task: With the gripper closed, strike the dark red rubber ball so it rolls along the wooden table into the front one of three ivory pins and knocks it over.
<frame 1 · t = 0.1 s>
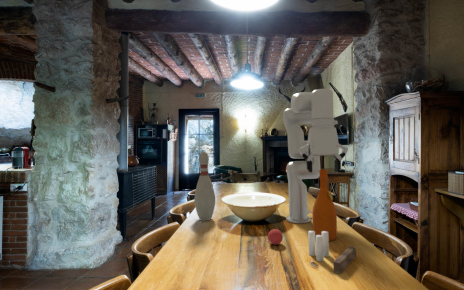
hand: (323, 171, 93), 31 cm above the table, tool pointing down, fingers open, 9 cm apart
ball: (275, 236, 107), on the table
brown wooden block: (345, 264, 88), on the table
bowling pin: (205, 219, 144), on the table
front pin: (312, 254, 96), on the table
pin 2: (325, 255, 95), on the table
pin 1: (319, 259, 91), on the table
wine bottle: (324, 238, 112), on the table
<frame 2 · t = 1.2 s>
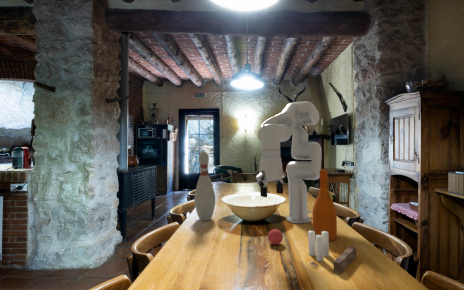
hand: (272, 195, 107), 20 cm above the table, tool pointing down, fingers open, 9 cm apart
nothing on the table moved.
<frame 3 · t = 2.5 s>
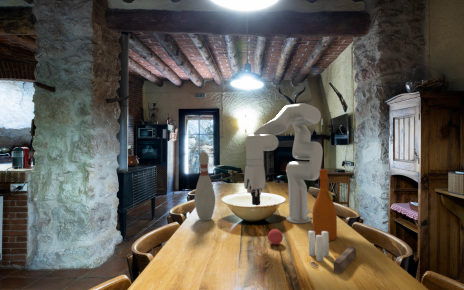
hand: (256, 204, 113), 15 cm above the table, tool pointing down, fingers closed
nothing on the table moved.
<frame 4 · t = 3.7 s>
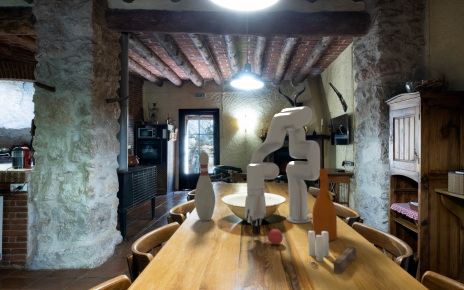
hand: (256, 233, 113), 2 cm above the table, tool pointing down, fingers closed
nothing on the table moved.
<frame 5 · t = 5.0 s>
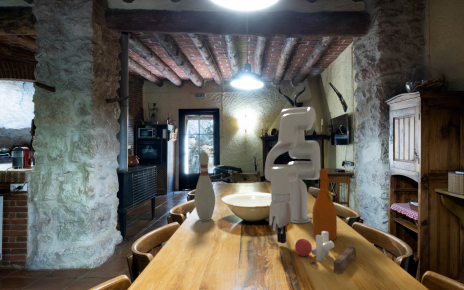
hand: (281, 242, 105), 2 cm above the table, tool pointing down, fingers closed
ball: (303, 247, 95), on the table
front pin: (313, 252, 95), point 1 cm above the table, tilted 55°
everything else where it was.
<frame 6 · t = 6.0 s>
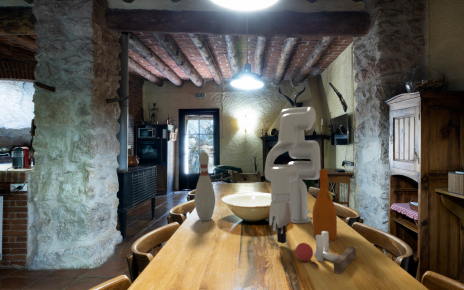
hand: (281, 242, 105), 2 cm above the table, tool pointing down, fingers closed
ball: (304, 251, 91), on the table
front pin: (315, 252, 95), point 1 cm above the table, tilted 90°
everything else where it was.
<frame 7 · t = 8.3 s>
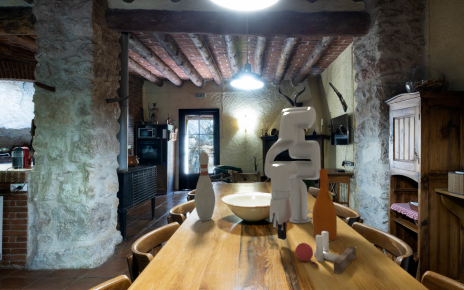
hand: (282, 238, 105), 3 cm above the table, tool pointing down, fingers closed
nothing on the table moved.
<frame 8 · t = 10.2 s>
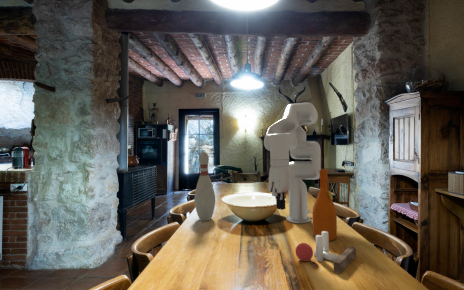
hand: (280, 208, 104), 15 cm above the table, tool pointing down, fingers closed
nothing on the table moved.
at the end: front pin tilted 90°; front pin never touched the robot; ball moved 17.1 cm from its start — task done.
